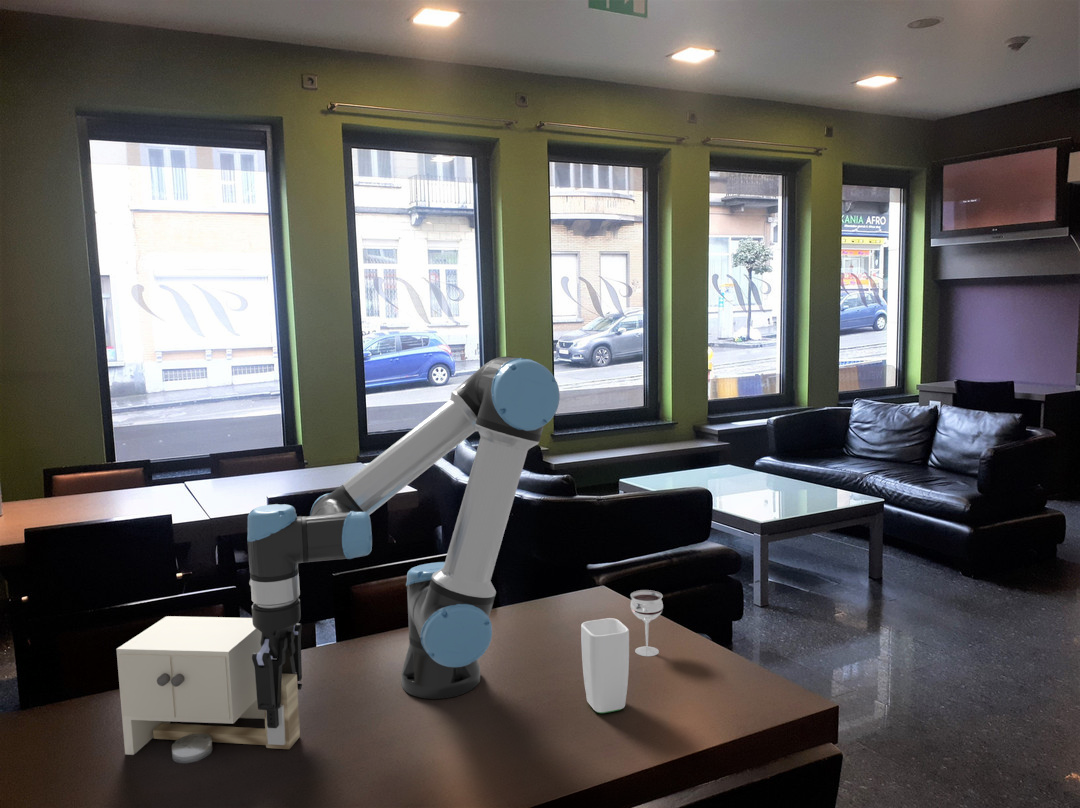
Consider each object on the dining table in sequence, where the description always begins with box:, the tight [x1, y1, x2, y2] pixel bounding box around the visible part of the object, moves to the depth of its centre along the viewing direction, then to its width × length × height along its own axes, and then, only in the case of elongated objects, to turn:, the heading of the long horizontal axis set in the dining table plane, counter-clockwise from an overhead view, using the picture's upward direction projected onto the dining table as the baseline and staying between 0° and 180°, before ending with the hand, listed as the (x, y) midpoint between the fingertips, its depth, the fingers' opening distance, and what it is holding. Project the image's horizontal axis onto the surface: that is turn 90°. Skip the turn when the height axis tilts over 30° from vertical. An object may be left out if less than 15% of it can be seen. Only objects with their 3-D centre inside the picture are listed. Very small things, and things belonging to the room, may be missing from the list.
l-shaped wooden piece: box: [153, 674, 301, 750], centre depth 132 cm, size 24×4×11 cm, turn 83°
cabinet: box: [115, 615, 265, 756], centre depth 133 cm, size 19×16×18 cm
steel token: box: [171, 733, 213, 764], centre depth 129 cm, size 6×6×2 cm
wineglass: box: [629, 589, 664, 657], centre depth 163 cm, size 7×7×12 cm
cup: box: [580, 617, 630, 714], centre depth 140 cm, size 7×7×15 cm
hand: (283, 735), depth 131 cm, fingers closed on l-shaped wooden piece, 4 cm apart
